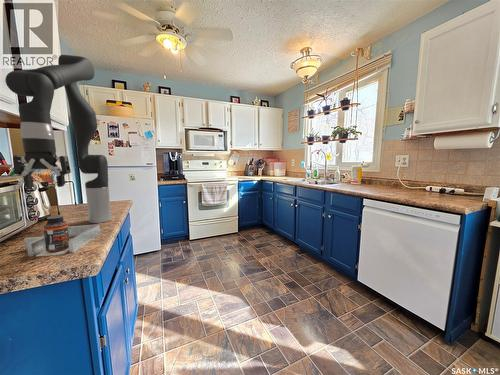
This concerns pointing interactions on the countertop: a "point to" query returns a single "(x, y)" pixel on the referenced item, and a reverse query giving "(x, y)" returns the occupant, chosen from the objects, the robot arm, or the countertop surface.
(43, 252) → the pad
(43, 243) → the grey angled wall frame
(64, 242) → the supplement bottle
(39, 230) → the countertop surface
